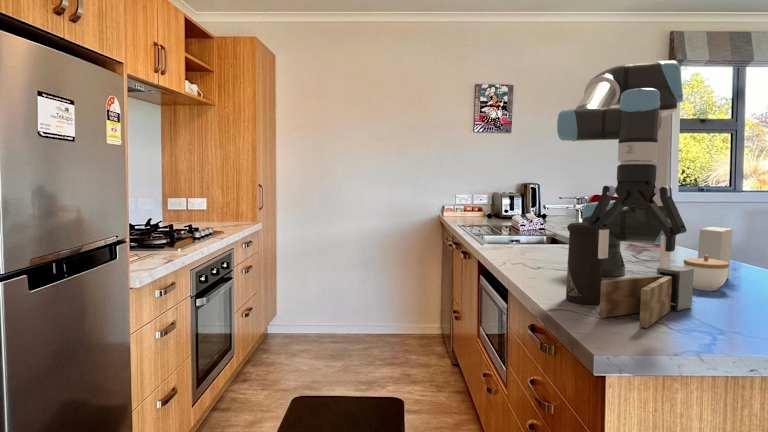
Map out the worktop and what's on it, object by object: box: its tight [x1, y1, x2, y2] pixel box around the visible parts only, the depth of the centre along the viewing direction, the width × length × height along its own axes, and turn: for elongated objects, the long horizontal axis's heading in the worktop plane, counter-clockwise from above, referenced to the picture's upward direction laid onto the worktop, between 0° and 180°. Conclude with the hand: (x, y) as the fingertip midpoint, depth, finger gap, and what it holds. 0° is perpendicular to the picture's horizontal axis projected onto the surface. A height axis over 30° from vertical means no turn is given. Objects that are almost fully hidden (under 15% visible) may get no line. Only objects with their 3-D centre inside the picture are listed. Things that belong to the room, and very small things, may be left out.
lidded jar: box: [683, 255, 729, 292], centre depth 141 cm, size 11×11×9 cm
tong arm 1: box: [599, 274, 664, 319], centre depth 115 cm, size 18×1×8 cm, turn 113°
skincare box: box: [697, 226, 734, 280], centre depth 154 cm, size 8×7×16 cm
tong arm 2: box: [638, 276, 672, 329], centre depth 111 cm, size 18×1×8 cm, turn 137°
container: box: [565, 221, 606, 306], centre depth 126 cm, size 9×9×20 cm
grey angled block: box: [656, 264, 694, 312], centre depth 121 cm, size 7×5×9 cm
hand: (632, 262), depth 109 cm, fingers open, 13 cm apart
